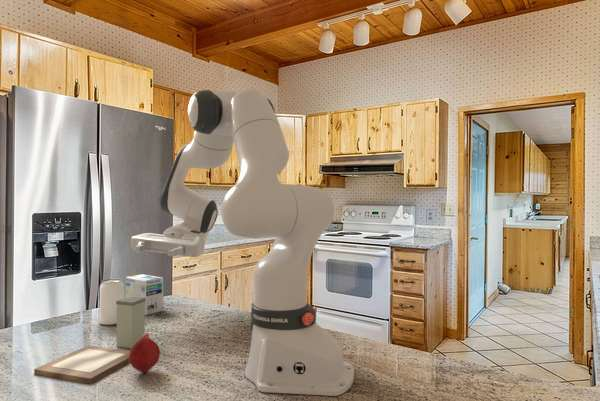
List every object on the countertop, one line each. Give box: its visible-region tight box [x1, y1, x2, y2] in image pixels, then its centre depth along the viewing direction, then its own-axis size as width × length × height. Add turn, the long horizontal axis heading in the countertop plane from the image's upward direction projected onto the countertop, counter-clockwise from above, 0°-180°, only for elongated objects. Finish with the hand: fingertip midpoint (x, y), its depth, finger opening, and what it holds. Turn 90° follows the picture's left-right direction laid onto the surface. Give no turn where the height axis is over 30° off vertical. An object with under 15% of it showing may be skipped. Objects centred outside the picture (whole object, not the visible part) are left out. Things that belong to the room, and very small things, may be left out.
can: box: [99, 278, 125, 326], centre depth 116 cm, size 6×6×12 cm
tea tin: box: [116, 296, 146, 349], centre depth 99 cm, size 5×5×11 cm
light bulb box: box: [125, 273, 164, 316], centre depth 129 cm, size 11×7×11 cm, turn 58°
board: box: [33, 344, 131, 384], centre depth 87 cm, size 14×14×1 cm
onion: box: [129, 333, 161, 374], centre depth 83 cm, size 6×6×8 cm
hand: (153, 251), depth 109 cm, fingers open, 8 cm apart
